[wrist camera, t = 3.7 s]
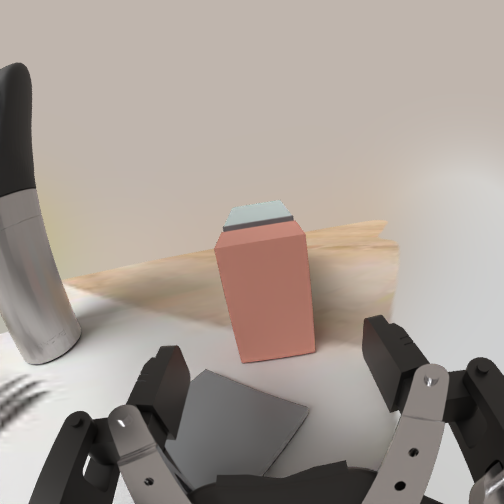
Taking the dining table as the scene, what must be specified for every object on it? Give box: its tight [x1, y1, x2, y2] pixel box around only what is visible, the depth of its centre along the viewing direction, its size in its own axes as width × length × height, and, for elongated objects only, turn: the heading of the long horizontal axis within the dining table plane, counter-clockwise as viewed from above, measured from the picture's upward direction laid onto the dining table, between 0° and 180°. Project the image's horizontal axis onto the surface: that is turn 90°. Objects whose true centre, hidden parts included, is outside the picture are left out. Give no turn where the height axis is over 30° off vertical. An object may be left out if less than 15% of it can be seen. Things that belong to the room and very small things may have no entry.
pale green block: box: [223, 200, 294, 232], centre depth 27 cm, size 11×6×9 cm, turn 0°
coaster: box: [165, 369, 308, 489], centre depth 13 cm, size 8×8×1 cm
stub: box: [214, 221, 315, 363], centre depth 19 cm, size 4×6×9 cm
